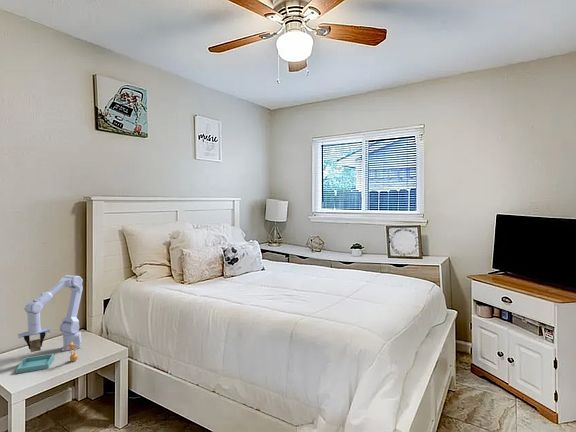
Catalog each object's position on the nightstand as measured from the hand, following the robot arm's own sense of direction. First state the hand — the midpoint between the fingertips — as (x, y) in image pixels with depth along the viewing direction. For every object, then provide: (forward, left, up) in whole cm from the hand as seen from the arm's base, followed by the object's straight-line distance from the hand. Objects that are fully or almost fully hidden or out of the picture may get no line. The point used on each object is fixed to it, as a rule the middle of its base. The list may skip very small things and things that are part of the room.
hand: (35, 347), depth 198 cm
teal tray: (-1, +4, -9) cm, 10 cm away
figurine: (-19, +7, -9) cm, 22 cm away
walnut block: (0, 0, -2) cm, 2 cm away
